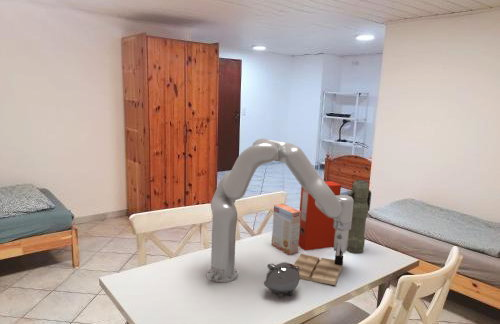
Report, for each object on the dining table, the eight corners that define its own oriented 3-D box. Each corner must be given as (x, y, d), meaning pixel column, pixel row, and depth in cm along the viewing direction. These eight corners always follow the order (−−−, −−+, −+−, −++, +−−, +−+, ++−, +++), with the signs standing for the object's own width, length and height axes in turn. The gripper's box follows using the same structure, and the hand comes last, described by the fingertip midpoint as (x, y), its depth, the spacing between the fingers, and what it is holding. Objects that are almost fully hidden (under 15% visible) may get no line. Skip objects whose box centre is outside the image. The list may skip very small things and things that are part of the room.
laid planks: (310, 281, 147) (310, 277, 147) (288, 275, 151) (288, 272, 151) (320, 261, 166) (321, 257, 165) (300, 256, 169) (301, 253, 169)
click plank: (335, 285, 144) (335, 281, 143) (311, 281, 147) (311, 277, 147) (343, 264, 162) (343, 260, 162) (321, 261, 165) (321, 257, 165)
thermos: (338, 248, 181) (345, 179, 174) (357, 244, 186) (364, 178, 179) (350, 255, 173) (357, 183, 166) (369, 252, 178) (377, 182, 171)
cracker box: (298, 253, 173) (301, 211, 169) (288, 255, 170) (291, 212, 166) (280, 242, 185) (283, 202, 181) (271, 244, 181) (273, 204, 177)
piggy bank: (257, 290, 139) (258, 262, 137) (289, 282, 146) (291, 255, 144) (272, 305, 129) (274, 275, 127) (306, 296, 136) (308, 267, 134)
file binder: (335, 247, 182) (341, 185, 176) (304, 251, 176) (309, 186, 170) (326, 240, 189) (331, 181, 183) (296, 244, 183) (301, 182, 177)
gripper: (348, 231, 147) (344, 273, 150) (353, 220, 160) (349, 259, 164) (330, 228, 150) (326, 269, 153) (336, 217, 163) (332, 255, 167)
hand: (338, 264), depth 159 cm, fingers closed
